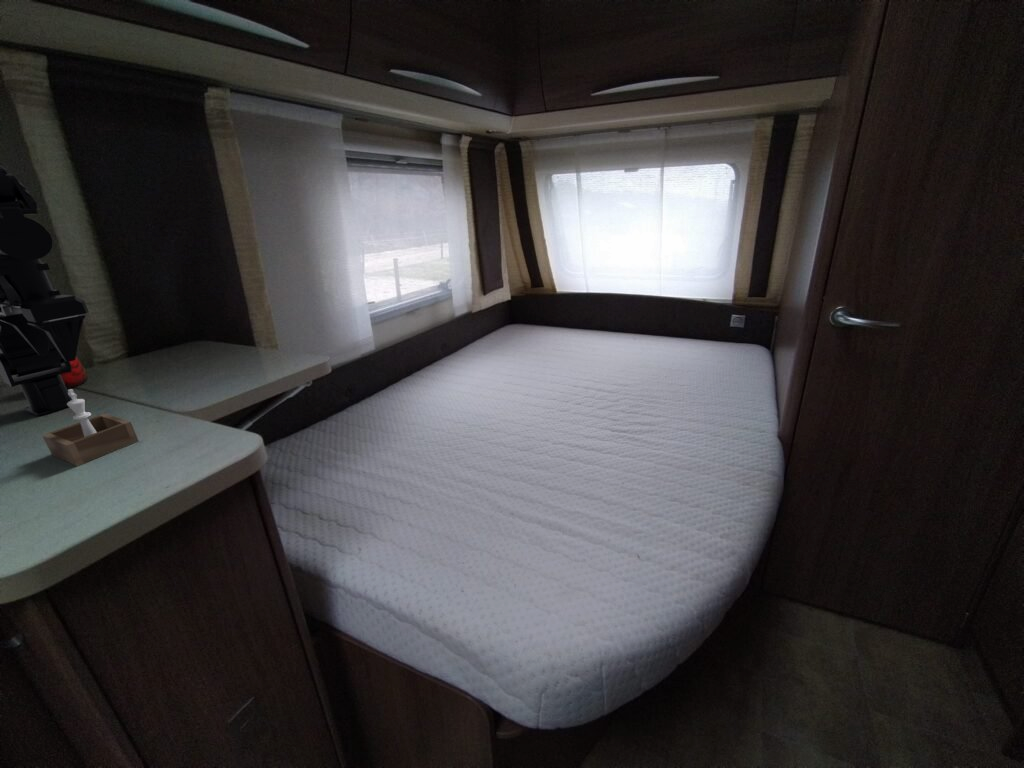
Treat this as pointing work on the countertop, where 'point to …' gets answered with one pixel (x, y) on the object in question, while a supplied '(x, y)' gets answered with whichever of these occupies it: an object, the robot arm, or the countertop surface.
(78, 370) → the red clay folk toy
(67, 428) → the walnut collar
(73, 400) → the chess piece
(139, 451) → the countertop surface
